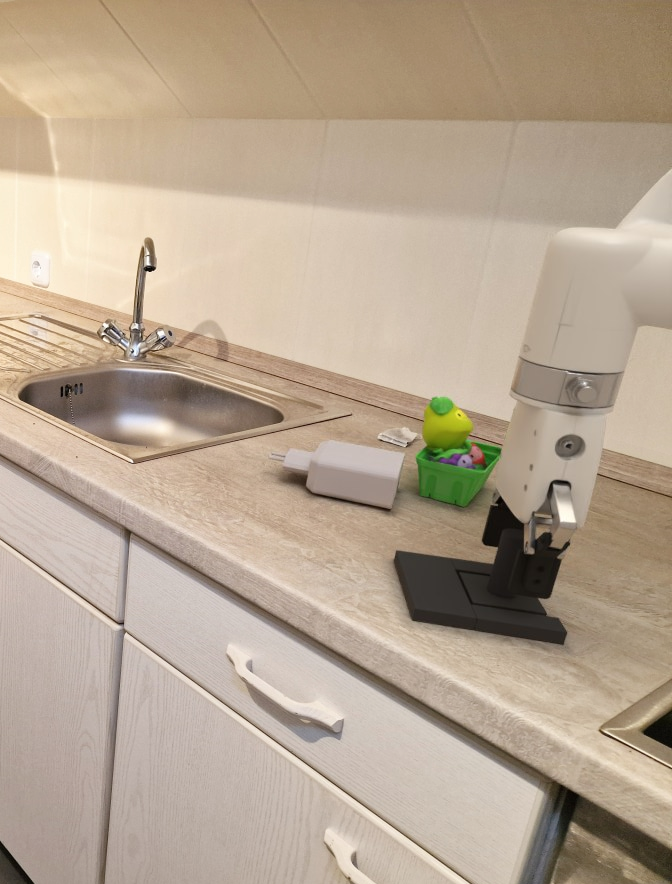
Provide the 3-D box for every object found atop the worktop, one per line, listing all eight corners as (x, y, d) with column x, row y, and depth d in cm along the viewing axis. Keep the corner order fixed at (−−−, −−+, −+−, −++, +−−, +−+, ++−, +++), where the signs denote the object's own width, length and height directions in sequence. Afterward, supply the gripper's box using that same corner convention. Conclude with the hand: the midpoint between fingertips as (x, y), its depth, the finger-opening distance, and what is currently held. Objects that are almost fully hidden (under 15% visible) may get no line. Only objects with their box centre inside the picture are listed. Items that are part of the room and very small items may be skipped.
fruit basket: (473, 514, 97) (498, 419, 93) (394, 492, 102) (414, 402, 98) (496, 487, 105) (519, 399, 101) (422, 469, 110) (441, 384, 106)
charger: (275, 462, 110) (398, 486, 104) (258, 485, 102) (390, 512, 96) (280, 427, 108) (406, 450, 102) (264, 447, 101) (399, 473, 95)
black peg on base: (524, 593, 80) (544, 525, 77) (543, 625, 74) (566, 553, 72) (456, 582, 81) (473, 516, 78) (469, 613, 76) (488, 542, 73)
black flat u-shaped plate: (524, 579, 82) (528, 568, 82) (563, 644, 71) (568, 632, 71) (393, 560, 85) (396, 549, 84) (412, 620, 74) (415, 608, 74)
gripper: (659, 419, 61) (592, 625, 68) (580, 365, 77) (531, 536, 83) (545, 408, 63) (490, 609, 69) (490, 357, 79) (449, 525, 85)
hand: (513, 569), depth 76 cm, fingers open, 9 cm apart
